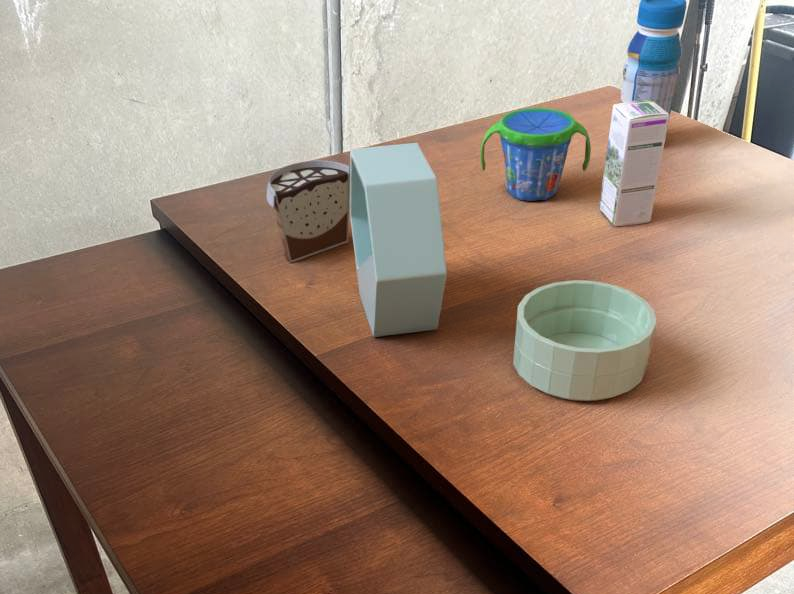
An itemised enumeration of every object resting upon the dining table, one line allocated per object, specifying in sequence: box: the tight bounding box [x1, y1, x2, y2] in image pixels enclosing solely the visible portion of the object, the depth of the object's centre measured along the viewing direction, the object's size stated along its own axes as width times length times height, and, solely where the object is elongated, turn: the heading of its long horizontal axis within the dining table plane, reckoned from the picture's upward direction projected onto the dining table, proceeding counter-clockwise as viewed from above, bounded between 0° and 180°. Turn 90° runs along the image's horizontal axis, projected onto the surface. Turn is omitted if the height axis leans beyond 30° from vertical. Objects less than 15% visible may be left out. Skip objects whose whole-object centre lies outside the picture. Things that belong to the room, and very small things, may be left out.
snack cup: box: [480, 107, 592, 202], centre depth 124 cm, size 16×10×10 cm
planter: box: [349, 142, 448, 338], centre depth 99 cm, size 17×8×21 cm
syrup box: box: [598, 100, 670, 227], centre depth 116 cm, size 6×6×14 cm
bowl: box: [512, 279, 657, 402], centre depth 94 cm, size 14×14×6 cm
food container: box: [266, 160, 350, 264], centre depth 115 cm, size 12×6×10 cm, turn 126°
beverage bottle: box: [619, 0, 687, 141], centre depth 134 cm, size 8×8×20 cm
